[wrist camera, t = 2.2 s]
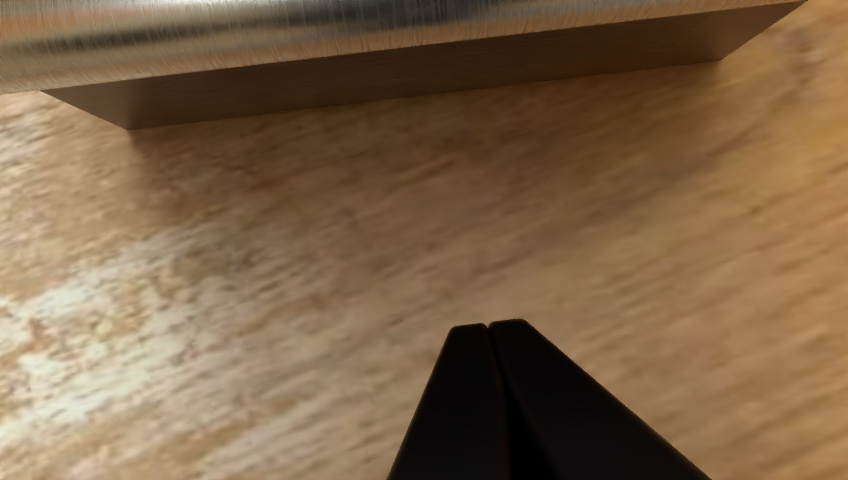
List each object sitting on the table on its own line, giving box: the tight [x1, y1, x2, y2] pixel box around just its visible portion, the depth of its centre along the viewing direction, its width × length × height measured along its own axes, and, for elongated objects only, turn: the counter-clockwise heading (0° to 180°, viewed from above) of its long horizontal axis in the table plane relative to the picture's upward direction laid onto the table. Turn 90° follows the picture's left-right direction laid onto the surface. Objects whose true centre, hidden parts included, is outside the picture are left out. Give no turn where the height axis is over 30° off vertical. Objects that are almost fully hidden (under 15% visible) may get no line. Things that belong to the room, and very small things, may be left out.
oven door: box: [0, 0, 808, 130], centre depth 13 cm, size 4×18×15 cm, turn 96°
